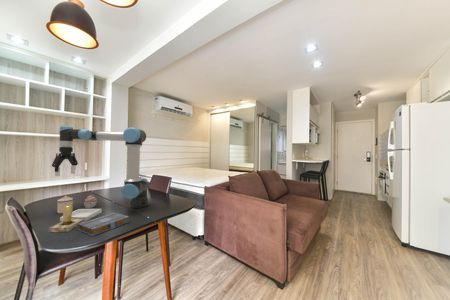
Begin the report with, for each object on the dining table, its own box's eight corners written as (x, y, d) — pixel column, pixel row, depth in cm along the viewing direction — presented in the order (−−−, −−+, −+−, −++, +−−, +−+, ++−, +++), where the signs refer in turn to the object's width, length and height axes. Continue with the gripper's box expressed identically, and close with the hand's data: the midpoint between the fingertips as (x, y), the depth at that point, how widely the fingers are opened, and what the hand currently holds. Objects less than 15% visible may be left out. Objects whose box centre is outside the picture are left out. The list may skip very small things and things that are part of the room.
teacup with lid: (75, 210, 132) (75, 195, 132) (59, 214, 124) (60, 198, 124) (68, 208, 137) (68, 193, 137) (52, 211, 129) (53, 196, 129)
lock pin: (73, 225, 106) (73, 204, 106) (68, 228, 102) (68, 206, 102) (66, 226, 105) (66, 204, 105) (60, 229, 101) (61, 206, 101)
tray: (101, 212, 128) (101, 208, 128) (86, 221, 112) (86, 216, 112) (78, 213, 127) (78, 209, 127) (59, 221, 111) (59, 217, 111)
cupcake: (99, 207, 141) (99, 194, 141) (85, 210, 133) (85, 197, 133) (94, 204, 146) (95, 193, 146) (81, 207, 139) (81, 195, 139)
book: (113, 218, 120) (114, 211, 120) (129, 222, 112) (129, 215, 112) (77, 230, 101) (77, 222, 101) (92, 237, 93) (93, 227, 94)
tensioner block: (83, 223, 110) (83, 219, 110) (67, 231, 98) (67, 227, 98) (66, 223, 109) (66, 219, 109) (48, 232, 97) (48, 227, 97)
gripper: (74, 147, 142) (73, 172, 142) (44, 146, 117) (44, 177, 117) (83, 147, 142) (83, 172, 142) (56, 146, 117) (55, 177, 117)
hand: (65, 174), depth 129 cm, fingers open, 13 cm apart
